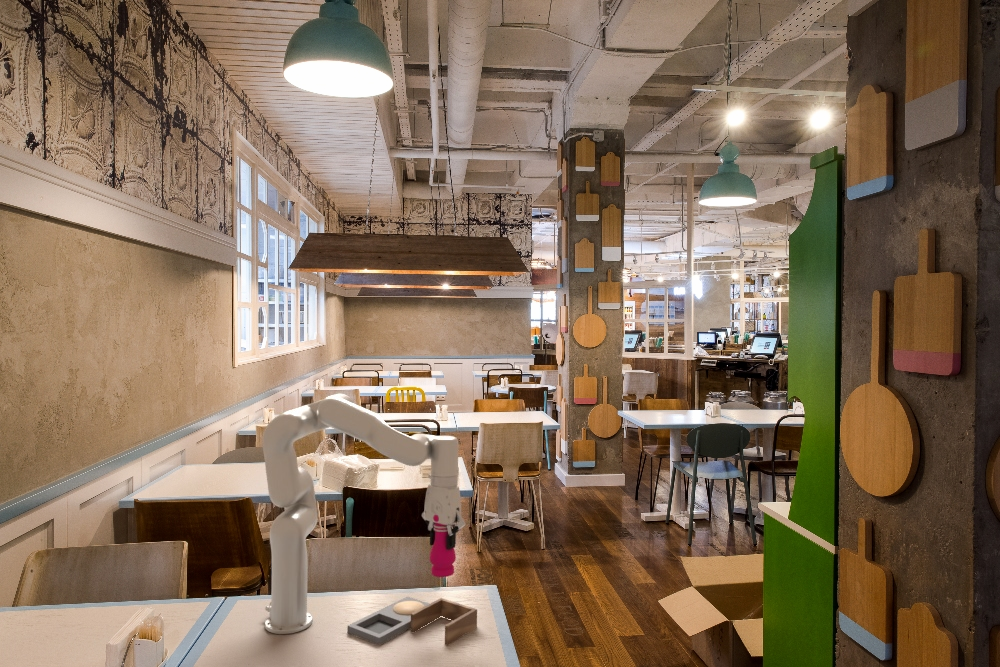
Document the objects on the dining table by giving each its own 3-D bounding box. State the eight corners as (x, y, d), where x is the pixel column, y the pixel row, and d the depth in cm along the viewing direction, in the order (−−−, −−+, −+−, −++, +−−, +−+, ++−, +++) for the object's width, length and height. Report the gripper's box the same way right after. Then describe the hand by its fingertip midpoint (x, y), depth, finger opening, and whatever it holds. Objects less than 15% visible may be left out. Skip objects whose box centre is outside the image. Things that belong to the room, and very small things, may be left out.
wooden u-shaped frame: (410, 631, 176) (410, 613, 176) (440, 615, 186) (441, 597, 186) (447, 645, 168) (447, 626, 168) (476, 627, 179) (477, 609, 179)
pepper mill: (443, 580, 173) (443, 505, 173) (424, 574, 177) (424, 501, 178) (461, 572, 179) (460, 500, 179) (442, 566, 183) (441, 496, 183)
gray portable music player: (347, 632, 175) (347, 624, 175) (407, 603, 194) (407, 595, 194) (379, 645, 168) (379, 636, 168) (437, 613, 188) (438, 605, 188)
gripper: (411, 478, 180) (410, 543, 180) (460, 488, 170) (458, 556, 170) (429, 474, 186) (428, 536, 186) (476, 483, 176) (475, 549, 176)
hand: (442, 545), depth 178 cm, fingers closed on pepper mill, 5 cm apart
